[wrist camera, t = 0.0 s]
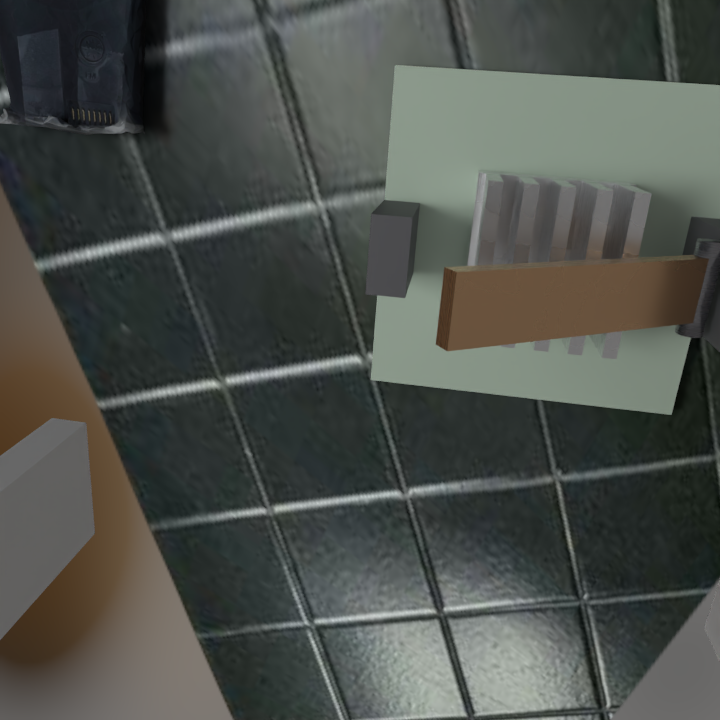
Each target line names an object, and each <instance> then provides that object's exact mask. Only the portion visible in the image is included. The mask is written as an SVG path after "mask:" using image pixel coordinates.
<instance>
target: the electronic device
mask: <svg viewBox="0 0 720 720" xmlns="http://www.w3.org/2000/svg"><path fill="white" fill-rule="evenodd" d="M145 22H146V0H0V53H1V59H2V63H3V66H4V72H5V77H6V83H7V87H8V91H9V95H10V100H11V104H10V107H9V108H5V109H3V111H4V114H2V115H1V116H0V123H5V124H16V125H24V126H35V127H48V128H52V129H57V130H62V131H67V132H72V133H77V134H85V135H90V134H96V133H103V134H117V133H124V132H125V131H126V132H131V133H133V134H135V133H141V132H143V133H144V134H145V132H144V128H143V93H144V56H145ZM145 135H146V134H145Z"/></svg>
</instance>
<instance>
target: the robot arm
mask: <svg viewBox="0 0 720 720" xmlns="http://www.w3.org/2000/svg"><path fill="white" fill-rule="evenodd" d="M94 534H95V531H94V518H93V504H92V493H91V479H90V467H89V453H88V440H87V428H86V423H84V422H76V421H69V420H61V419H55V418H52V419H50V420H49V421H47V422H46V423H45V424H43V425H42V426H41V427H40V428H38V429H37V430H35V431H34V432H33V433H31V434H30V435H28V436H27V437H26V438H24V439H23V440H21V441H20V442H19V443H17V444H16V445H15V446H13V447H12V448H10V449H9V450H8V451H7V452H5V453H4V454H2V455H1V456H0V639H1V638H2V637H3V636H4V635H5V634H6V633H7V631H8V630H9V629H10V628H11V627H12V626H13V625H14V624H15V622H16V621H17V620H18V619H19V618H20V617H21V616H22V615H23V614H24V612H25V611H26V610H27V609H28V608H29V607H30V606H31V605H32V603H33V602H34V601H35V600H36V599H37V598H38V597H39V596H40V594H41V593H42V592H43V591H44V590H45V588H47V587H48V585H49V584H50V583H51V582H52V581H53V580H54V578H55V577H56V576H57V575H58V574H59V573H60V572H61V571H62V570H63V568H64V567H65V566H66V565H67V564H68V563H69V562H70V561H71V560H72V558H73V557H74V556H75V555H76V554H77V553H78V552H79V550H80V549H81V548H82V547H83V546H84V545H85V544H86V543H87V542H88V540H89V539H90V538H91V537H92V536H93V535H94ZM704 629H705V631H706V633H707V635H708V638H709V640H710V642H711V644H712V646H713V648H714V650H715V653H716V654H717V657H718V659H719V661H720V580H719V583H718V587H717V590H716V593H715V596H714V599H713V602H712V605H711V608H710V612H709V615H708V618H707V621H706V624H705V627H704Z"/></svg>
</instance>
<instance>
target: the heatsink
mask: <svg viewBox="0 0 720 720" xmlns="http://www.w3.org/2000/svg"><path fill="white" fill-rule="evenodd" d="M651 195H652V193H649V192H647V191H644V190H642V189H639V188H637V185H635V184H633V183H630V182H619V181H606V180H593V179H581V178H568V177H555V176H543V175H530V174H517V173H505V172H492V171H480V170H478V177H477V185H476V193H475V202H474V210H473V218H472V226H471V234H470V242H469V250H468V258H467V266H475V265H496V264H516V263H537V262H557V261H578V260H598V259H619V258H638V256H639V251H640V246H641V242H642V237H643V232H644V228H645V223H646V218H647V214H648V209H649V204H650V199H651ZM621 335H622V331H620V332H611V333H602V334H594V335H589V336H590V338H591V340H592V342H593V343H594V345H595V347H596V349H597V350H598V352H599V354H600V356H601V357H602V358H609V359H617V354H618V349H619V345H620V340H621ZM585 338H586V335H585V336H576V337H568V338H561V340H562V342H563V345H564V347H565V349H566V351H567V354H572V355H581V356H582V353H583V348H584V343H585ZM531 343H532V346H533V349H534V350H535V351H544V352H548V350H549V344H550V340H542V341H533V342H531ZM500 347H507V348H515V344H507V345H500Z"/></svg>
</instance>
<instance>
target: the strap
mask: <svg viewBox="0 0 720 720" xmlns="http://www.w3.org/2000/svg"><path fill="white" fill-rule="evenodd" d="M719 270H720V240H714V239H704V238H699V239H697V242H696V246H695V250H694V254H693V255H681V256H660V257H640V258H619V259H598V260H578V261H557V262H537V263H516V264H496V265H475V266H455V267H444V274H443V283H442V292H441V301H440V310H439V319H438V328H437V337H436V345H437V346H439V347H441V348H442V349H444V350H446V351H455V350H464V349H473V348H481V347H490V346H499V345H507V344H516V343H524V342H533V341H542V340H550V339H559V338H568V337H576V336H585V335H594V334H602V333H611V332H620V331H628V330H637V329H646V328H654V327H663V326H672V325H676V328H675V333H676V334H678V335H681V336H685V337H690V338H701V337H702V336H703V332H704V328H705V325H706V321H707V317H708V313H709V309H710V305H711V301H712V297H713V294H714V290H715V286H716V282H717V278H718V274H719Z"/></svg>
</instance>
